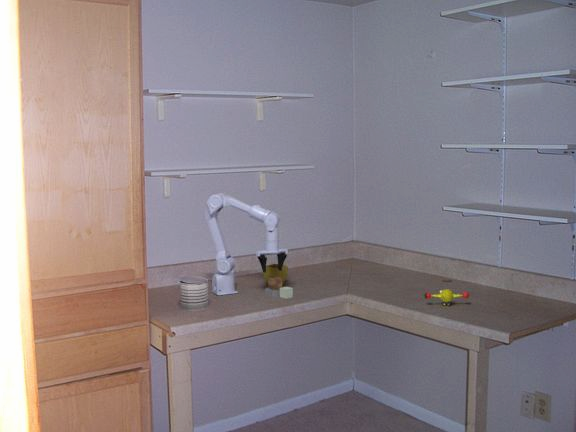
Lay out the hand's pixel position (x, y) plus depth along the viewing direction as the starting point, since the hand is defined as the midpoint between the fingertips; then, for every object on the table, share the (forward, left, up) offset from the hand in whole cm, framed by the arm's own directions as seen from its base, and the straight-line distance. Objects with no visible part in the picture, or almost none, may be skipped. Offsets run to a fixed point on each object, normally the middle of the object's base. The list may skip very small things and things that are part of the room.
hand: (272, 271), depth 276 cm
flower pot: (+10, +16, -11) cm, 21 cm away
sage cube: (+3, -7, -10) cm, 13 cm away
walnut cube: (+1, -1, -8) cm, 8 cm away
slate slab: (+1, -1, -11) cm, 11 cm away
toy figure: (+53, -52, -11) cm, 75 cm away
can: (-37, -4, -11) cm, 39 cm away
